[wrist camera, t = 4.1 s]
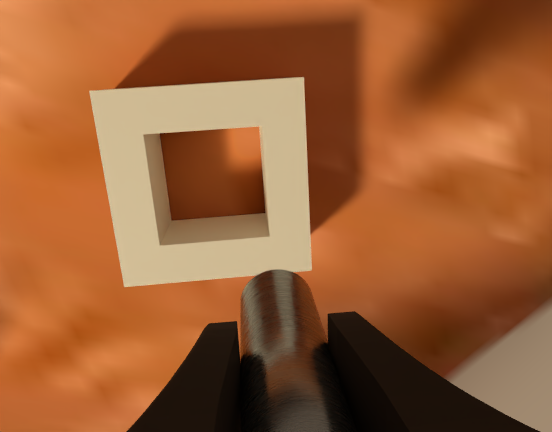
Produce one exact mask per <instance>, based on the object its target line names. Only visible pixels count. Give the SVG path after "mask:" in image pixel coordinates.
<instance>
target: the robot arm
mask: <svg viewBox="0 0 552 432" xmlns="http://www.w3.org/2000/svg"><path fill="white" fill-rule="evenodd" d="M328 345H329V348H330V351H331V354H332V357H333V360H334V363H335V366H336V369H337V373H338V375H339V378H340V381H341V384H342V387H343V390H344V393H345V396H346V400H347V403H348V406H349V409H350V412H351V415H352V418H353V421H354V424H355V427H356V430H357V432H540V431H538V430H535V429H533V428H531V427H529V426H527V425H525V424H523V423H521V422H519V421H517V420H515V419H513V418H511V417H509V416H507V415H505V414H503V413H502V412H500V411H498V410H496V409H494V408H493V407H491V406H489V405H487V404H485V403H484V402H482V401H480V400H478V399H476V398H475V397H473V396H471V395H469V394H468V393H466V392H464V391H463V390H461V389H459V388H458V387H456V386H455V385H453V384H452V383H450V382H449V381H447V380H446V379H444V378H443V377H441V376H440V375H438V374H436V373H435V372H433V371H432V370H430V369H429V368H428V367H426V366H425V365H423V364H422V363H420V362H419V361H418V360H416V359H415V358H414V357H412V356H411V355H409V354H408V353H407V352H405V351H404V350H403V349H402V348H400V347H399V346H398V345H396V344H395V343H394V342H392V341H391V340H390V339H389V338H387V337H386V336H385V335H384V334H382V333H381V332H380V331H379V330H377V329H376V328H375V327H374V326H373V325H371V324H370V323H369V322H368V321H366V320H365V319H364V318H363V317H361V316H360V315H359V314H358V313H356V312H343V313H331V314H328ZM127 432H241V365H240V353H239V341H238V329H237V321H234V322H222V323H210V324H208V325H207V326H206V327H205V328H204V330H203V332H202V333H201V335H200V337H199V338H198V340H197V342H196V343H195V345H194V347H193V348H192V350H191V351H190V353H189V354H188V356H187V357H186V359H185V360H184V362H183V363H182V364H181V366H180V367H179V368H178V370H177V371H176V373H175V374H174V375H173V377H172V378H171V380H170V381H169V382H168V384H167V385H166V386H165V387H164V389H163V390H162V391H161V392H160V394H159V395H158V396H157V397H156V398H155V400H154V401H153V402H152V403H151V405H150V406H149V407H148V408H147V409H146V411H145V412H144V413H143V414H142V415H141V416H140V418H139V419H138V420H137V421H136V422H135V423H134V424H133V425H132V426H131V427H130V429H129V430H128V431H127Z"/></svg>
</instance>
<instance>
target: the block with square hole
mask: <svg viewBox="0 0 552 432" xmlns="http://www.w3.org/2000/svg"><path fill="white" fill-rule="evenodd" d="M89 92H90V98H91V103H92V109H93V114H94V120H95V126H96V131H97V137H98V142H99V148H100V154H101V159H102V165H103V170H104V176H105V182H106V187H107V193H108V198H109V204H110V210H111V215H112V221H113V226H114V232H115V238H116V243H117V249H118V254H119V260H120V266H121V271H122V277H123V282H124V287H130V286H142V285H153V284H164V283H175V282H187V281H198V280H209V279H221V278H232V277H243V276H255V275H258V274H260V273H262V272H265V271H269V270H275V269H282V270H287V271H291V272H300V271H311V270H312V262H311V238H310V213H309V189H308V164H307V140H306V115H305V91H304V77H290V78H274V79H259V80H243V81H228V82H212V83H197V84H181V85H166V86H150V87H135V88H119V89H107V90H96V91H89ZM257 126H259V131H260V145H261V159H262V173H263V187H264V201H265V213H259V214H247V215H235V216H222V217H210V218H198V219H185V220H173V221H172V220H171V213H170V205H169V198H168V191H167V183H166V176H165V169H164V162H163V154H162V147H161V140H160V133H171V132H186V131H200V130H214V129H228V128H242V127H257Z"/></svg>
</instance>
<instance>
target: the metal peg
mask: <svg viewBox="0 0 552 432" xmlns="http://www.w3.org/2000/svg"><path fill="white" fill-rule="evenodd" d="M241 432H357V430H356V427H355V424H354V421H353V418H352V415H351V412H350V409H349V406H348V403H347V400H346V396H345V393H344V390H343V387H342V384H341V381H340V378H339V375H338V373H337V369H336V366H335V363H334V360H333V357H332V354H331V351H330V348H329V345H328V341H327V338H326V335H325V332H324V329H323V326H322V323H321V320H320V317H319V314H318V311H317V308H316V305H315V302H314V299H313V296H312V293H311V290H310V288H309V286H308V284H307V283H306V281H305V280H304V279H303V278H301V277H300V276H299V275H297V274H295V273H293V272H291V271H287V270H282V269H275V270H269V271H265V272H262V273H260V274H258V275H257V276H255V277H254V278H253V279H251V280H250V281H249V283H248V284H247V285H246V287H245V288H244V290H243V293H242V296H241Z"/></svg>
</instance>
